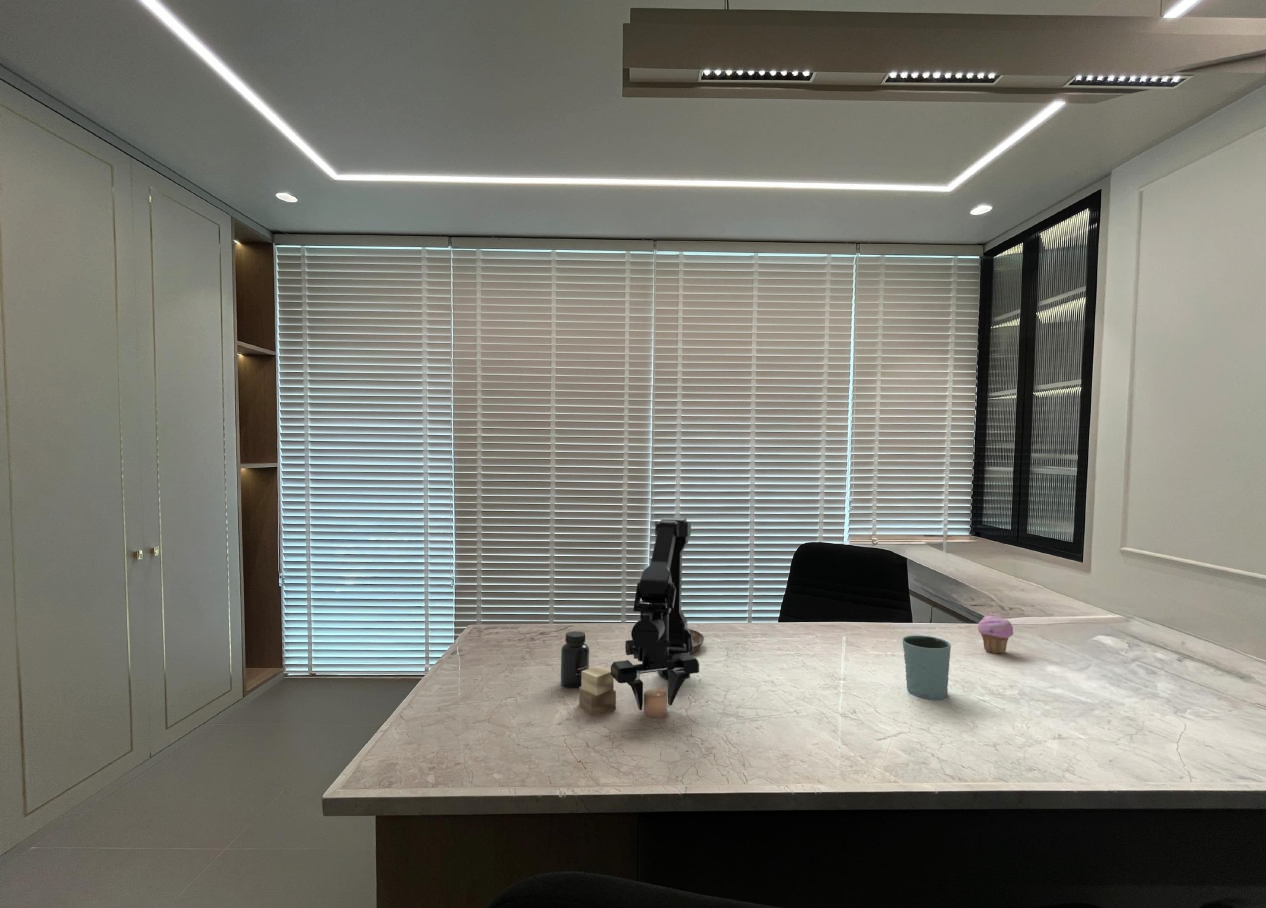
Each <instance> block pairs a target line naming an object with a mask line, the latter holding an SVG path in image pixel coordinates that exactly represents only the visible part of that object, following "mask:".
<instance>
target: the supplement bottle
mask: <svg viewBox="0 0 1266 908" xmlns="http://www.w3.org/2000/svg"><path fill="white" fill-rule="evenodd" d="M564 642H565V643H564V644H563V645H562V647H561V651H560V684H562V686H564V687H566V688H573V689H575V688H579V687H581V683H582V671H584V670H587V669H590V647H589V645H587V643H586V633H585V632H583V631H577V630H574V631H568V632H566V633H565V640H564Z"/></svg>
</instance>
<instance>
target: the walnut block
mask: <svg viewBox="0 0 1266 908" xmlns="http://www.w3.org/2000/svg"><path fill="white" fill-rule="evenodd" d="M578 688H579V689H578V696H579V697H578V698H579V699H578V700H579V702H578V704H579V706H581V707H582V708H583V709H584V710H585V711H586V712H588V713H589V714H590V715H594V714H599V713H604V712H607V711H612V710H615V709H616V708H617V690H615V689H613V690H610V691H608V692H605V693H603V694H600V695H598V696H596V695H594V694H591V693H589V692H586V691H584V690H582V689H581V687H578Z"/></svg>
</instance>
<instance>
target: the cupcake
mask: <svg viewBox="0 0 1266 908" xmlns="http://www.w3.org/2000/svg"><path fill="white" fill-rule="evenodd" d="M1013 628H1014V627H1013V625H1012V622H1011V621H1010V620H1008V619H1005V618H1002V617H1000V616H997V615H996V616H995V615H985V616H983V618H982V619H981V620H980V621H979V622H978V625H977V629H978V630H977V631H978V633H980V635H981V637H982V640H983V648H984V650H985V651H986V652H988V653H992V654H1003V653H1005V652H1006V650H1007V645H1008V640H1009V638H1011V637H1012V636H1013V635H1014V629H1013Z"/></svg>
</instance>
